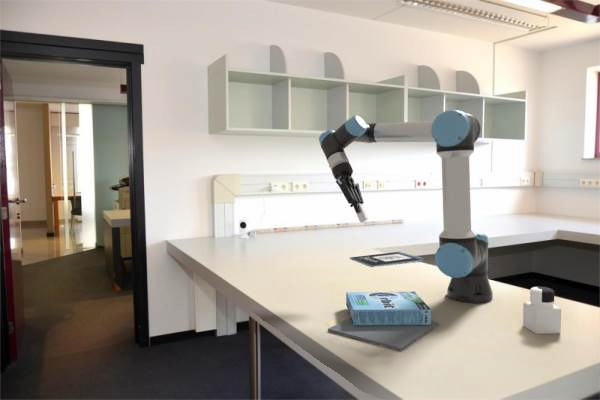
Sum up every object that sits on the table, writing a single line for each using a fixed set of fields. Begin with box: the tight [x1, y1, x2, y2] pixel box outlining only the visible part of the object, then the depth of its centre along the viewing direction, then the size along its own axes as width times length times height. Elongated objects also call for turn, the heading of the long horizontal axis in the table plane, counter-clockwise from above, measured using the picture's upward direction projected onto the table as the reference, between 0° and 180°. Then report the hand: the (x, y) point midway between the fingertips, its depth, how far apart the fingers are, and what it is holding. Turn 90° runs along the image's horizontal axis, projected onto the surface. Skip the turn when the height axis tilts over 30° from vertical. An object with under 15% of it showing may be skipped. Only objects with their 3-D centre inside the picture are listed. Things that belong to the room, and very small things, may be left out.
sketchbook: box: [349, 250, 424, 268], centre depth 227 cm, size 22×30×2 cm
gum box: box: [345, 291, 432, 325], centre depth 140 cm, size 20×5×23 cm
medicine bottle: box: [522, 286, 562, 335], centre depth 128 cm, size 7×7×12 cm
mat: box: [327, 317, 439, 352], centre depth 131 cm, size 23×24×1 cm
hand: (364, 220), depth 161 cm, fingers closed
